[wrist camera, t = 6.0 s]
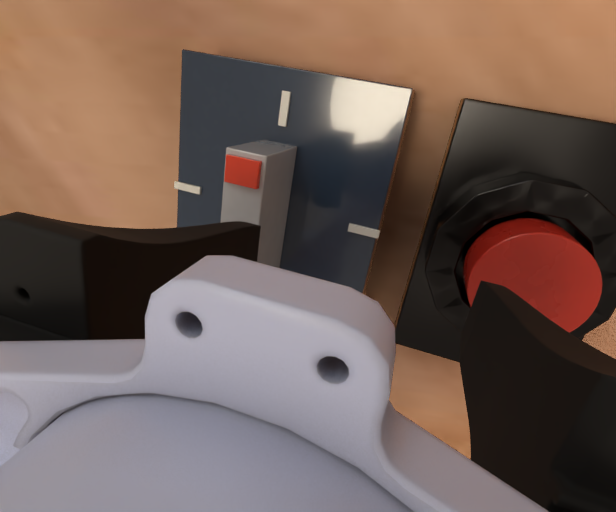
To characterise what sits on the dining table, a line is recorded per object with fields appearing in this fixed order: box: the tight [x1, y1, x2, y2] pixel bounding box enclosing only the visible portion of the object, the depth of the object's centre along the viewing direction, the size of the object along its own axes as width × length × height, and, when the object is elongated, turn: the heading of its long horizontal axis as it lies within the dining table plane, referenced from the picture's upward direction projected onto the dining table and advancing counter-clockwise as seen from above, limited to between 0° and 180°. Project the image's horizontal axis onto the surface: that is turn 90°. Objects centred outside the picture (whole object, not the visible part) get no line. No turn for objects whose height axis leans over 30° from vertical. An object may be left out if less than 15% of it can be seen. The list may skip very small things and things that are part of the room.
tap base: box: [174, 49, 415, 295], centre depth 20 cm, size 12×10×3 cm
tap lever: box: [221, 139, 297, 268], centre depth 17 cm, size 6×2×4 cm, turn 171°
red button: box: [463, 218, 602, 333], centre depth 15 cm, size 4×4×2 cm
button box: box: [394, 98, 616, 362], centre depth 17 cm, size 12×8×4 cm, turn 171°
